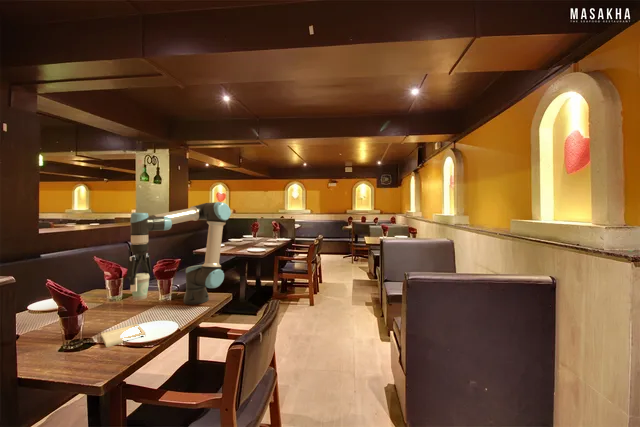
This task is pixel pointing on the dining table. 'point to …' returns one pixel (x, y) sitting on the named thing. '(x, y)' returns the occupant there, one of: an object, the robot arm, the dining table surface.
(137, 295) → the coffee cup
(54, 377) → the dining table surface
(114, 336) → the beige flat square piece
